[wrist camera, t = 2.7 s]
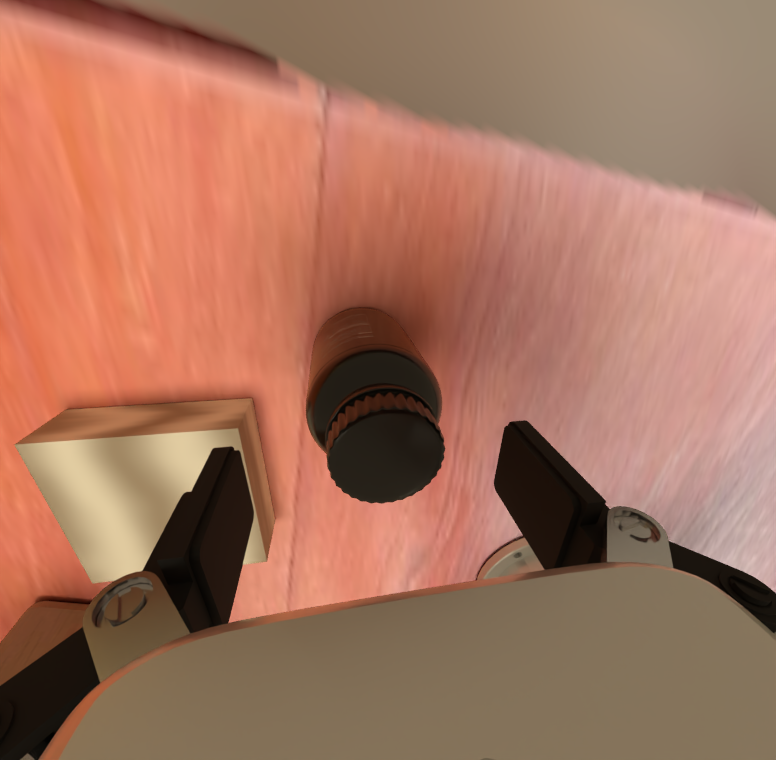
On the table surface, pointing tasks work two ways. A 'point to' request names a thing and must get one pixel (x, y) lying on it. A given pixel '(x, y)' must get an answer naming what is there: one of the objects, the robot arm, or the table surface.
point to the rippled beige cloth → (139, 475)
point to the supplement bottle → (374, 407)
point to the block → (38, 634)
